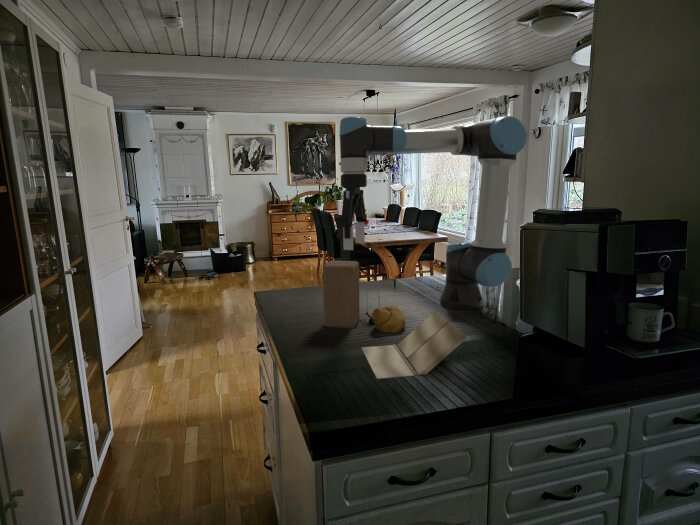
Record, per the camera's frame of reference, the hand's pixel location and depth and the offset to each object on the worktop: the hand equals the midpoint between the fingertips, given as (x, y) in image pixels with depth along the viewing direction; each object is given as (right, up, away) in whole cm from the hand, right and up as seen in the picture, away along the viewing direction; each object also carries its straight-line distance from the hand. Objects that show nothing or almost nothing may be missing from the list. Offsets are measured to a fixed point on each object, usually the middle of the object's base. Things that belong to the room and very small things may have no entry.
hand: (354, 246), depth 129 cm
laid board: (+8, -30, -20) cm, 37 cm away
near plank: (+20, -26, -24) cm, 41 cm away
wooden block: (-4, -25, +11) cm, 28 cm away
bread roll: (+11, -26, +6) cm, 29 cm away
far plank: (+18, -24, -15) cm, 34 cm away
